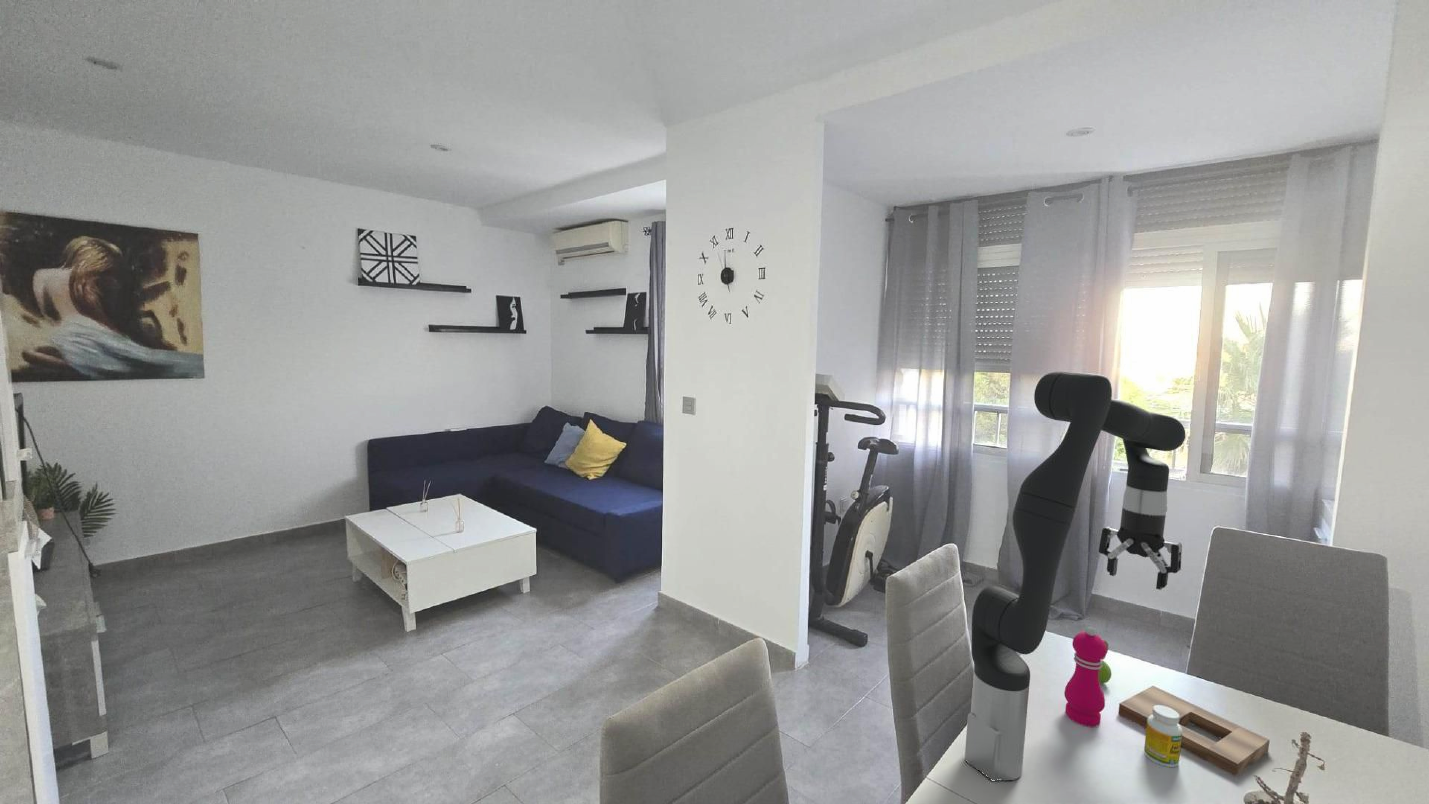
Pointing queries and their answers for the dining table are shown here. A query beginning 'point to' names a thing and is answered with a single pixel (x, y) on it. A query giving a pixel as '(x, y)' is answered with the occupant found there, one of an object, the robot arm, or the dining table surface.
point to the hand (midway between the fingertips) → (1135, 581)
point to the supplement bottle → (1163, 736)
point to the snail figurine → (1104, 669)
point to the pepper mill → (1086, 680)
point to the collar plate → (1227, 753)
